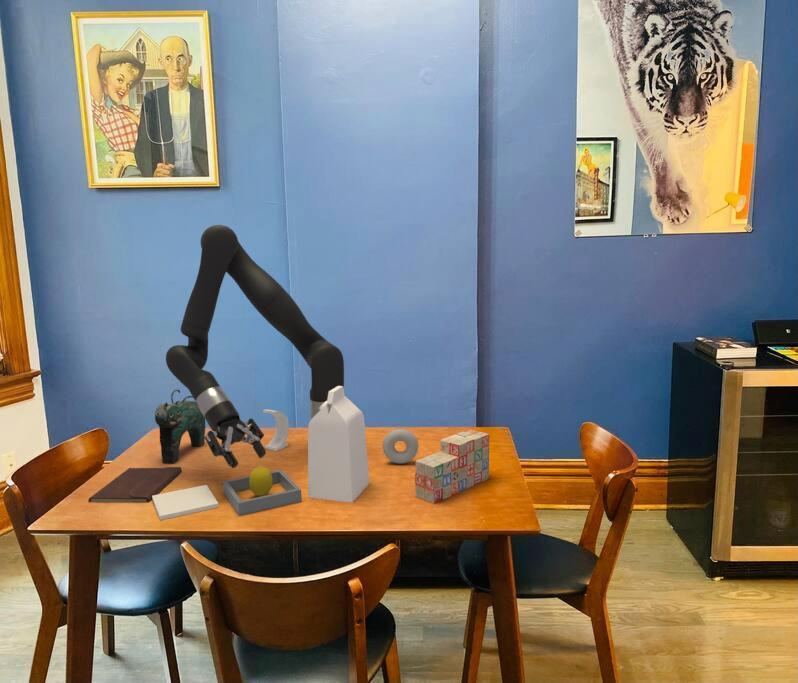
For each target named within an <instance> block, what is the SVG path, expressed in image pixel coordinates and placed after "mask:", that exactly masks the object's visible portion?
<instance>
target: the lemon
mask: <svg viewBox="0 0 798 683" xmlns="http://www.w3.org/2000/svg"><path fill="white" fill-rule="evenodd" d="M270 472H271V471H270V470H269V468H267V467H264V466H262V465H258V466H257V467H255V468H253V470H252V471H251V473H250V475H249V476H250V479H249V485H250V489H249V490H250V491H251V492H252V493H253V494H254V495H256V496H257V497H261V496H266V495H268V493H269V492H271V490H272V488H273V485H274V484H273V481H272V475H271V473H270Z"/></svg>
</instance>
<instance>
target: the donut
mask: <svg viewBox="0 0 798 683" xmlns="http://www.w3.org/2000/svg"><path fill="white" fill-rule="evenodd" d="M397 442H398V443H399V442H403V443H405V447H406V448H405V449H404V450H403V451H399V450H397V449H396V447H395V445H396V443H397ZM382 450H383V453H384V454H383V455H385V457H386V458H387V460H389V461H390V462H392V463H395V464H398V465H399V464H400V465H401V464H407V463H409V462H411V461H412V460H413V459H414V458H416V456H417V454H418V453H419V442H418V439H417V437H416V435H415V434H414V433H413V432H411V431H410V430H407V429H404V428H398V429H396V428H395V429H393V430H391V431H389V432H388V433H387V434H386V435H385V436H384V439H383V441H382Z"/></svg>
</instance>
